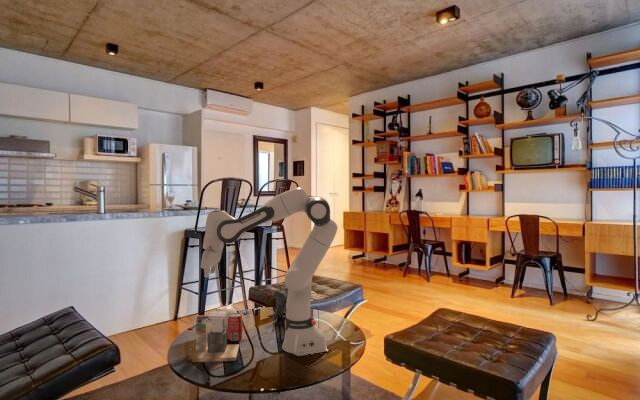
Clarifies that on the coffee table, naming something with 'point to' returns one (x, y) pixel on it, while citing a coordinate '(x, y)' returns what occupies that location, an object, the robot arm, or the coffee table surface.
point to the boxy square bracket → (216, 321)
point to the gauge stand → (213, 345)
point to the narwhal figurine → (279, 302)
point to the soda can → (235, 327)
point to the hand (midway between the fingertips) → (209, 275)
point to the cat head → (229, 311)
